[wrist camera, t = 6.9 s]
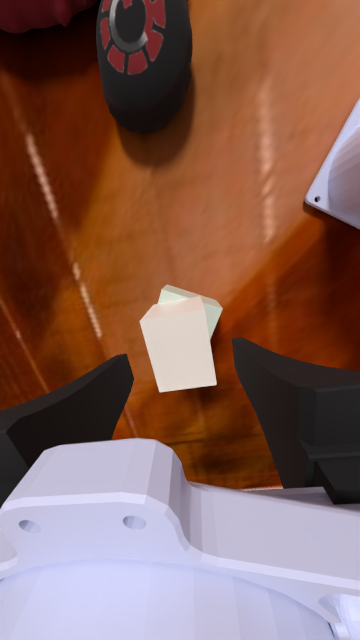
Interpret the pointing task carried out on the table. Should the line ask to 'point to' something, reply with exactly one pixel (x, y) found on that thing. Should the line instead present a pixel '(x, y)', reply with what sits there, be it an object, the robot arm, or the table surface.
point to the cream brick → (179, 344)
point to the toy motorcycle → (125, 52)
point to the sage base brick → (175, 294)
